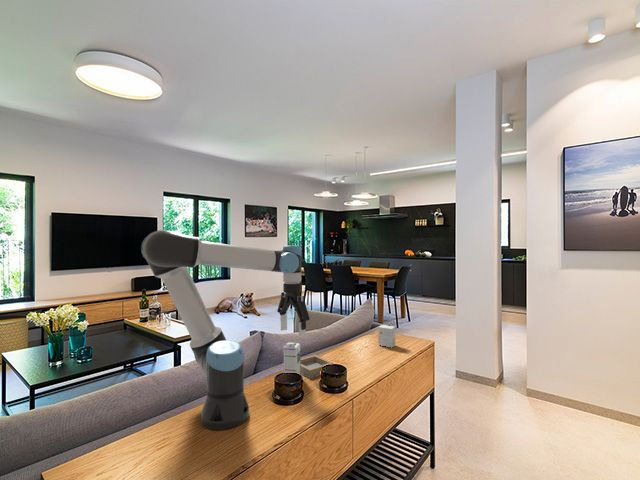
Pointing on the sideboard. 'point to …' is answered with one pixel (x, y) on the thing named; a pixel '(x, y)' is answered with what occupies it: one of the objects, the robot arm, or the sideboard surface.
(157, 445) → the sideboard surface
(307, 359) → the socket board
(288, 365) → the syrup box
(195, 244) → the robot arm
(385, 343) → the small box
